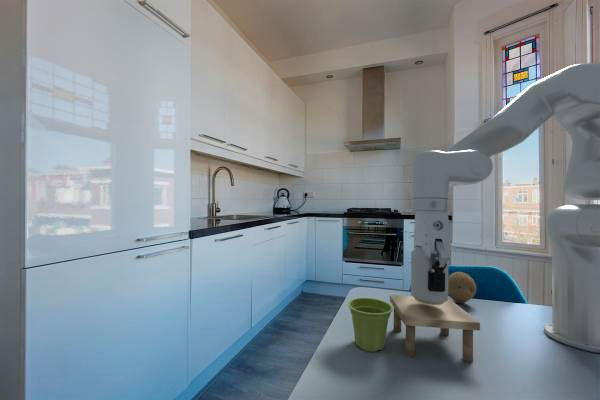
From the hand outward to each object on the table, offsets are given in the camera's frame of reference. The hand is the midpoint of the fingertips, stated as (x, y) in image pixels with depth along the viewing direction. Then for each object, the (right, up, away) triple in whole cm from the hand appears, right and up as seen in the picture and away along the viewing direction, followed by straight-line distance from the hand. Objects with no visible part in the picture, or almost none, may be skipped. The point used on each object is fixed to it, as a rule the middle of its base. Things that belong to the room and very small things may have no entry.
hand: (429, 285), depth 60 cm
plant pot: (-14, -13, -1) cm, 19 cm away
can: (0, -4, 0) cm, 4 cm away
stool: (0, -13, 0) cm, 13 cm away
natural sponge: (+22, -14, +25) cm, 36 cm away
